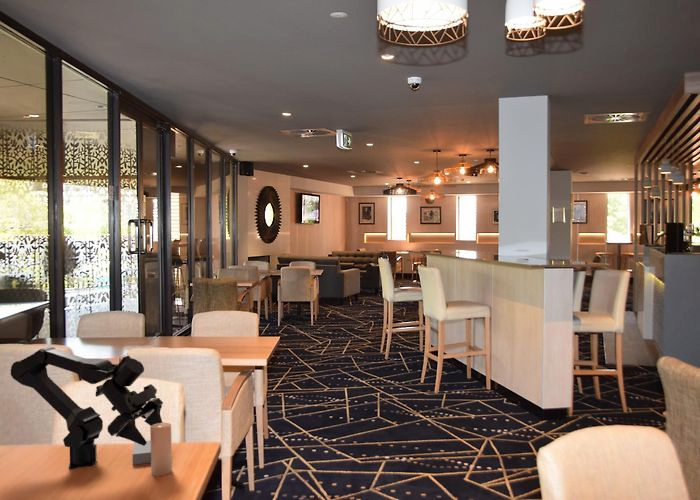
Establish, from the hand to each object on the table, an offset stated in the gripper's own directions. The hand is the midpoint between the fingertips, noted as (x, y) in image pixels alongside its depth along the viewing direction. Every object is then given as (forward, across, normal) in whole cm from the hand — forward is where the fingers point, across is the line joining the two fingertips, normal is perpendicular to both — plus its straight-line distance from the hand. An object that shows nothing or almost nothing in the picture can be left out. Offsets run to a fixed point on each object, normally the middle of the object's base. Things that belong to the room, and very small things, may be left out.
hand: (155, 438), depth 163 cm
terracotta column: (+8, 0, +5) cm, 9 cm away
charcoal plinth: (+1, +9, +12) cm, 15 cm away
